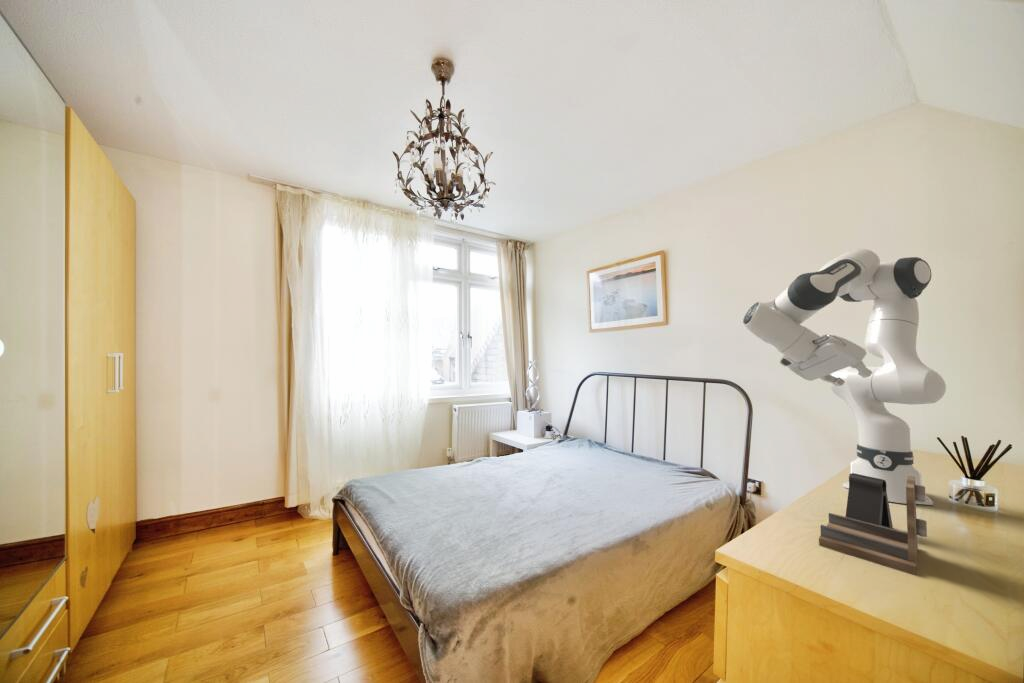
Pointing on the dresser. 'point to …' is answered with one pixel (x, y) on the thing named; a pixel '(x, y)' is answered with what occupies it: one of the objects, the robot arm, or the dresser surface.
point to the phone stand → (868, 500)
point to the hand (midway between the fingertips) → (854, 380)
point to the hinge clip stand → (879, 535)
